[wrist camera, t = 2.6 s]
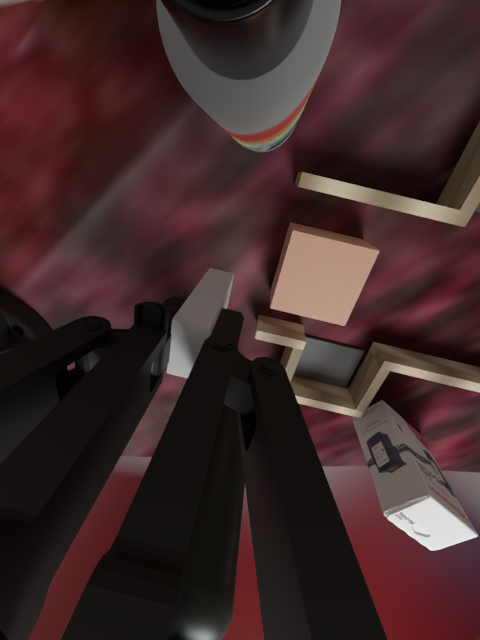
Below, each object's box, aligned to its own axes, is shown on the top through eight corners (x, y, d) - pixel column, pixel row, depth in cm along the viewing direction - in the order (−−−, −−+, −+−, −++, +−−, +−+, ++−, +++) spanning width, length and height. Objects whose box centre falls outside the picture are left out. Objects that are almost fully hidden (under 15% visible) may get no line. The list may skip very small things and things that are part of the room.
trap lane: (243, 369, 34) (240, 389, 30) (328, 64, 20) (338, 44, 17) (449, 419, 34) (467, 443, 31) (680, 151, 20) (755, 146, 17)
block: (270, 289, 28) (270, 308, 25) (289, 221, 25) (292, 230, 21) (334, 305, 29) (344, 326, 25) (363, 239, 25) (379, 251, 21)
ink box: (422, 433, 35) (484, 540, 25) (389, 449, 37) (433, 554, 27) (382, 397, 33) (431, 497, 23) (349, 416, 35) (380, 516, 25)
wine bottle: (204, 390, 36) (16, 978, 10) (217, 358, 33) (2, 1058, 7) (244, 404, 36) (170, 1006, 10) (260, 374, 34) (215, 1091, 7)
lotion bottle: (231, 157, 23) (99, 101, 5) (222, 70, 20) (-90, -569, 3) (300, 148, 22) (401, 43, 5) (298, 55, 20) (523, -982, 2)
